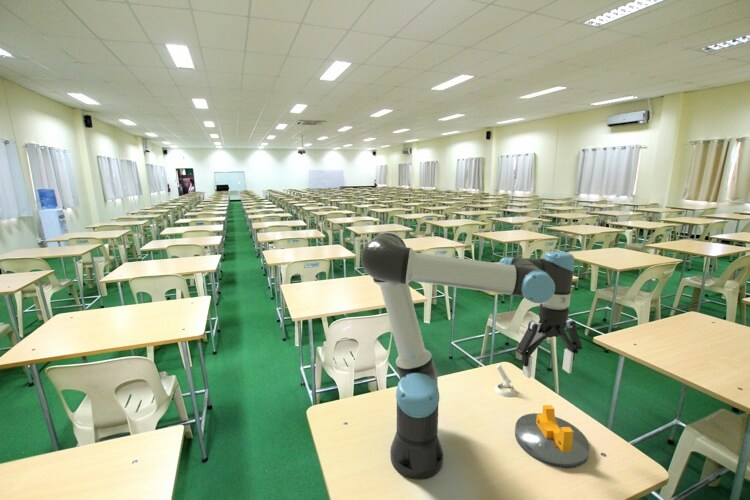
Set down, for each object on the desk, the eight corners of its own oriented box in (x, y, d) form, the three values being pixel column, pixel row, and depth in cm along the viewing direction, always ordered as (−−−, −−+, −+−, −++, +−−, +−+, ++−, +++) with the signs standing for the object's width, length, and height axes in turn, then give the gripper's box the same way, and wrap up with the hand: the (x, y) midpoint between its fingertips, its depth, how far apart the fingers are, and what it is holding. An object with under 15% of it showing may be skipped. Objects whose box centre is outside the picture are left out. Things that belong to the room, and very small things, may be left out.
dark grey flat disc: (544, 474, 93) (544, 466, 92) (502, 425, 112) (502, 418, 112) (605, 461, 97) (606, 453, 96) (555, 416, 116) (555, 409, 116)
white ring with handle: (484, 368, 137) (500, 360, 135) (501, 396, 135) (517, 389, 133) (483, 373, 131) (499, 365, 128) (500, 403, 128) (517, 396, 126)
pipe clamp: (536, 423, 109) (537, 405, 108) (549, 423, 109) (551, 405, 108) (556, 452, 97) (558, 432, 96) (571, 451, 97) (573, 431, 96)
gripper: (523, 312, 92) (516, 384, 96) (602, 307, 97) (592, 375, 101) (507, 303, 99) (501, 370, 103) (581, 298, 104) (573, 363, 108)
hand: (546, 373), depth 102 cm, fingers open, 13 cm apart
